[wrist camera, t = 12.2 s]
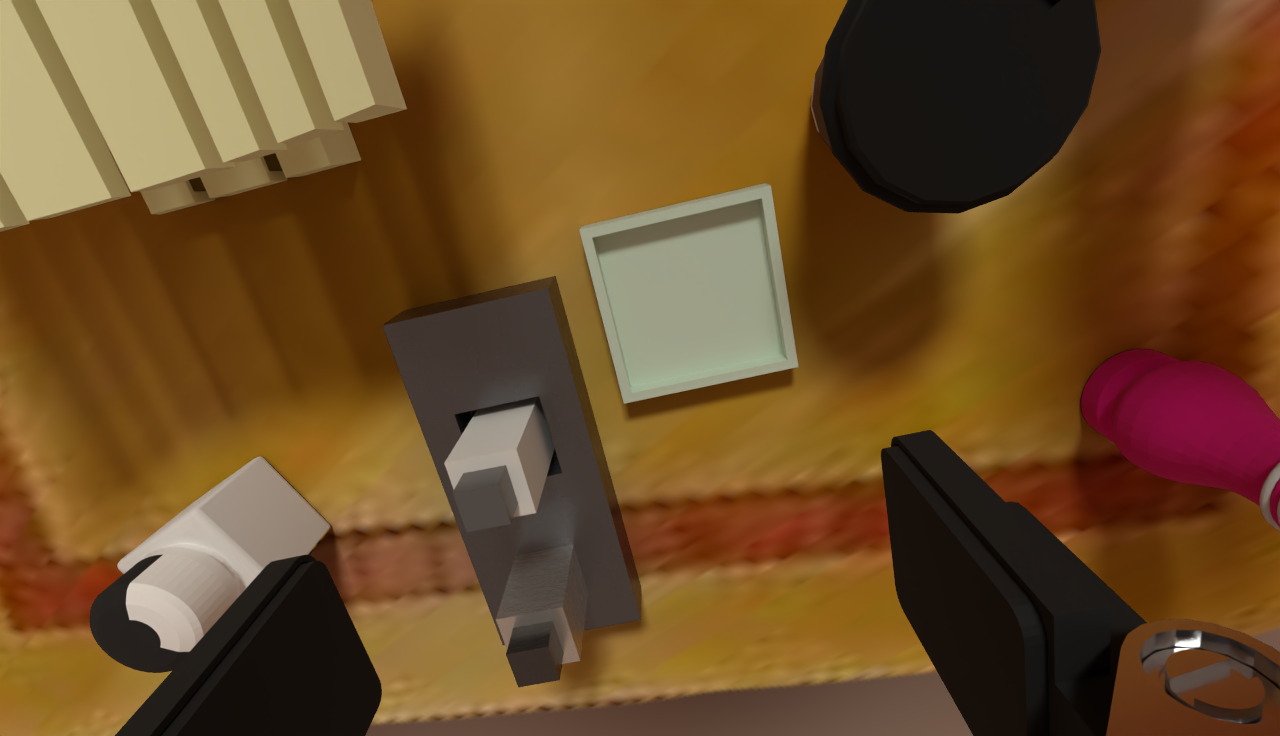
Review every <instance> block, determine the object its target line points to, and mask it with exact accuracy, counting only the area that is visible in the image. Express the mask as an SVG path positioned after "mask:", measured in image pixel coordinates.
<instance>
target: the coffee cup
mask: <svg viewBox="0 0 1280 736" xmlns="http://www.w3.org/2000/svg"><path fill="white" fill-rule="evenodd" d="M1100 53H1101V46H1100V38H1099V30H1098V22H1097V14H1096V7H1095V0H848V1H847V3H846V5H845V7H844V9H843V11H842V13H841V15H840V18H839V20H838V22H837V24H836V26H835V28H834V30H833V32H832V34H831V36H830V38H829V40H828V42H827V44H826V47H825V55H824V57H823V59H822V61H821V63H820V66H819V68H818V70H817V72H816V74H815V79H814V81H813V90H812V99H811V110H812V114H813V117H814V121H815V125H816V128H817V131H818V132H819V134H820V136H821V137H822V139H823V140H824V141H825V142H826V144H827V145H828V146H829V147H830V149H831V150H832V152H833V154H834V155H835V157H836V158H837V159H838V160H839V162H840V163H841V164H842V165H843V167H844V168H845V169H846V170H847V172H848V173H849V174H850V175H851V177H852V178H853V179H854V180H855V182H856V183H857V184H858V185H859V186H860V188H861V189H862V190H863V191H865V192H867V193H869V194H871V195H873V196H875V197H877V198H879V199H881V200H883V201H885V202H887V203H889V204H891V205H893V206H896V207H898V208H900V209H902V210H904V211H907V212H928V213H961V212H964V211H967V210H969V209H972V208H975V207H978V206H980V205H983V204H986V203H988V202H991V201H994V200H997V199H999V198H1002V197H1005V196H1007V195H1009V194H1010V193H1012V192H1013V191H1014V190H1015V189H1016V188H1018V187H1019V186H1020V185H1021V184H1022V183H1024V182H1025V181H1026V180H1027V179H1029V178H1030V177H1031V176H1032V175H1033V174H1035V173H1036V172H1037V171H1038V170H1039V169H1041V168H1042V167H1043V166H1044V165H1045V164H1047V163H1048V162H1049V161H1050V160H1051V159H1052V158H1053V157H1054V156H1055V155H1056V154H1057V153H1058V152H1059V150H1060V149H1061V147H1062V145H1063V144H1064V142H1065V141H1066V139H1067V137H1068V136H1069V134H1070V133H1071V131H1072V129H1073V128H1074V126H1075V125H1076V123H1077V122H1078V120H1079V118H1080V117H1081V115H1082V114H1083V112H1084V110H1085V109H1086V107H1087V106H1088V102H1089V98H1090V94H1091V90H1092V86H1093V82H1094V77H1095V73H1096V69H1097V65H1098V61H1099V57H1100Z"/></svg>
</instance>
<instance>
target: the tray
mask: <svg viewBox="0 0 1280 736" xmlns="http://www.w3.org/2000/svg"><path fill="white" fill-rule="evenodd" d="M580 234H581V238H582V242H583V246H584V250H585V253H586V257H587V261H588V265H589V269H590V273H591V277H592V281H593V285H594V289H595V293H596V296H597V300H598V304H599V308H600V312H601V316H602V320H603V324H604V328H605V332H606V335H607V339H608V343H609V347H610V351H611V355H612V359H613V363H614V367H615V371H616V375H617V378H618V382H619V386H620V390H621V394H622V398H623V402H624V404H625V403H630V402H634V401H639V400H644V399H649V398H653V397H658V396H663V395H668V394H672V393H677V392H682V391H687V390H691V389H696V388H701V387H706V386H710V385H715V384H720V383H725V382H729V381H734V380H739V379H744V378H748V377H753V376H758V375H763V374H767V373H772V372H777V371H782V370H786V369H791V368H796V367H798V361H797V354H796V348H795V341H794V335H793V328H792V322H791V315H790V308H789V302H788V295H787V289H786V282H785V276H784V269H783V263H782V256H781V249H780V243H779V236H778V230H777V223H776V217H775V210H774V204H773V197H772V191H771V185H768V184H765V183H764V184H760V185H756V186H752V187H747V188H743V189H739V190H734V191H730V192H726V193H722V194H717V195H713V196H709V197H704V198H700V199H696V200H692V201H687V202H683V203H679V204H674V205H670V206H666V207H662V208H657V209H653V210H649V211H645V212H640V213H636V214H632V215H627V216H623V217H619V218H615V219H610V220H606V221H602V222H597V223H593V224H589V225H585V226H582V227H581V228H580Z"/></svg>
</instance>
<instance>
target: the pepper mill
mask: <svg viewBox="0 0 1280 736" xmlns="http://www.w3.org/2000/svg"><path fill="white" fill-rule="evenodd" d="M1081 408H1082V413H1083V416H1084V418H1085V420H1086V421H1087V423H1088V424H1089V425H1090V426H1091V427H1092V428H1093V429H1094V430H1096V431H1097V432H1099V433H1100V434H1102V435H1103V436H1105V437H1107V438H1108V439H1110V440H1111V441H1113V442H1115V443H1116V445H1117V447H1118V449H1119V450H1120V452H1121V453H1122V455H1123V456H1124V457H1125V458H1126V459H1128V460H1129V461H1130V462H1131V463H1133V464H1134V465H1136V466H1138V467H1140V468H1142V469H1143V470H1145V471H1147V472H1149V473H1151V474H1154V475H1156V476H1158V477H1162V478H1165V479H1169V480H1173V481H1176V482H1180V483H1186V484H1193V485H1201V486H1208V487H1215V488H1220V489H1226V490H1229V491H1232V492H1235V493H1238V494H1240V495H1242V496H1244V497H1246V498H1247V499H1249V500H1251V501H1253V502H1255V503H1256V504H1257V505H1259V506H1260V509H1261V512H1262V515H1263V516H1264V518H1265V519H1266V521H1267V522H1268V523H1269V524H1270V525H1272V526H1273V527H1275V528H1276V529H1278V530H1280V420H1279V418H1278V417H1277V416H1276V415H1275V414H1274V413H1273V411H1272V410H1271V409H1270V407H1269V406H1268V405H1267V404H1266V402H1265V401H1264V400H1263V399H1262V397H1261V396H1260V395H1259V394H1258V393H1257V391H1256V390H1254V389H1253V388H1252V387H1251V386H1249V385H1248V384H1247V383H1246V382H1245V381H1243V380H1242V379H1241V378H1240V377H1238V376H1236V375H1234V374H1233V373H1231V372H1229V371H1227V370H1225V369H1223V368H1221V367H1218V366H1216V365H1214V364H1210V363H1206V362H1200V361H1180V360H1178V359H1175V358H1173V357H1170V356H1168V355H1165V354H1163V353H1160V352H1158V351H1154V350H1150V349H1136V350H1130V351H1126V352H1123V353H1120V354H1118V355H1116V356H1114V357H1111V358H1110V359H1108V360H1107V361H1106V362H1104V363H1103V364H1102V365H1100V366H1099V367H1098V368H1097V369H1096V370H1095V371H1094V373H1093V374H1092V375H1091V377H1090V378H1089V380H1088V382H1087V383H1086V385H1085V387H1084V390H1083V394H1082V398H1081Z"/></svg>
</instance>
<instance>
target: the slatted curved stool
mask: <svg viewBox="0 0 1280 736" xmlns="http://www.w3.org/2000/svg"><path fill="white" fill-rule="evenodd" d="M406 109H407V107H406V104H405V101H404V98H403V95H402V93H401V90H400V87H399V84H398V81H397V78H396V75H395V72H394V69H393V66H392V63H391V60H390V57H389V54H388V51H387V48H386V45H385V42H384V39H383V36H382V33H381V30H380V27H379V24H378V21H377V17H376V14H375V11H374V8H373V5H372V2H371V0H0V232H2V231H5V230H9V229H13V228H16V227H20V226H23V225H27V224H30V223H29V221H32V220H40V219H48V218H53V217H56V216H60V215H63V214H67V213H71V212H74V211H78V210H82V209H85V208H89V207H92V206H96V205H100V204H103V203H107V202H111V201H114V200H118V199H122V198H125V197H129V196H131V194H130V192H129V190H128V188H127V186H126V184H125V182H124V180H123V178H122V176H121V174H120V172H119V170H118V167H119V169H120V171H121V173H122V175H123V177H124V179H125V181H126V183H127V185H128V187H129V189H130V191H131V192H137V191H140V192H141V194H142V196H143V198H144V200H145V202H146V204H147V206H148V208H149V210H150V212H151V214H158V215H162V214H165V213H169V212H173V211H176V210H180V209H184V208H187V207H191V206H195V205H198V204H202V203H206V202H209V201H213V200H216V199H215V198H217V197H225V196H232V195H235V194H239V193H243V192H246V191H250V190H254V189H257V188H261V187H265V186H268V185H272V184H276V183H279V182H283V181H287V180H288V179H287V178H289V177H300V176H305V175H309V174H313V173H316V172H320V171H324V170H327V169H331V168H335V167H338V166H342V165H346V164H349V163H353V162H357V161H361V157H360V154H359V152H358V149H357V146H356V144H355V141H354V138H353V136H352V133H351V130H350V128H349V125H348V122H352V123H359V122H363V121H366V120H370V119H373V118H377V117H381V116H384V115H388V114H392V113H395V112H399V111H402V110H406ZM101 133H102V134H101ZM102 135H103V136H102ZM103 137H104V138H103ZM104 139H105V140H104ZM105 141H106V142H105ZM106 143H107V144H106ZM107 145H108V146H107ZM108 147H109V149H110V151H111V153H112V155H113V157H114V159H115V161H116V163H117V165H118V167H117V165H116V163H115V161H114V159H113V157H112V155H111V153H110V151H109V149H108Z"/></svg>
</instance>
